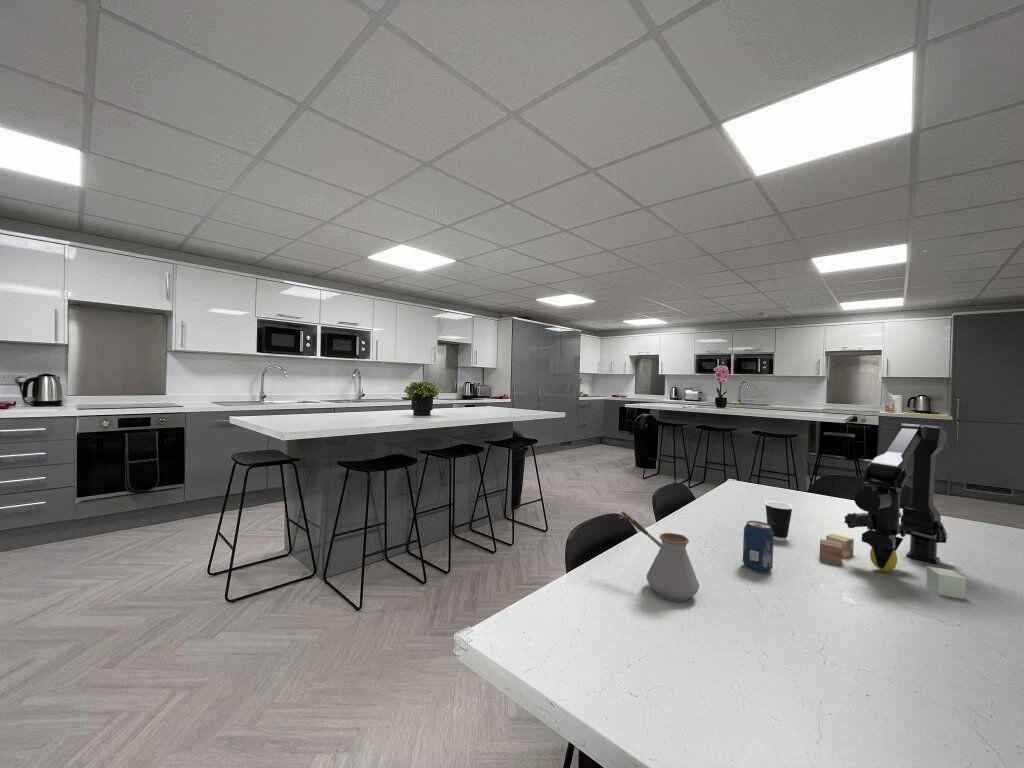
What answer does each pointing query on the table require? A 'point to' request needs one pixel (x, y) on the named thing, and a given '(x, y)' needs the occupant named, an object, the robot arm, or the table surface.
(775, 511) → the dixie cup
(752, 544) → the soda can
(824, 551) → the walnut block
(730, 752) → the table surface
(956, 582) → the sage block
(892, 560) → the lemon
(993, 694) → the table surface
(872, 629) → the table surface
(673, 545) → the coffee pot
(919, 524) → the robot arm
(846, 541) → the oak block
